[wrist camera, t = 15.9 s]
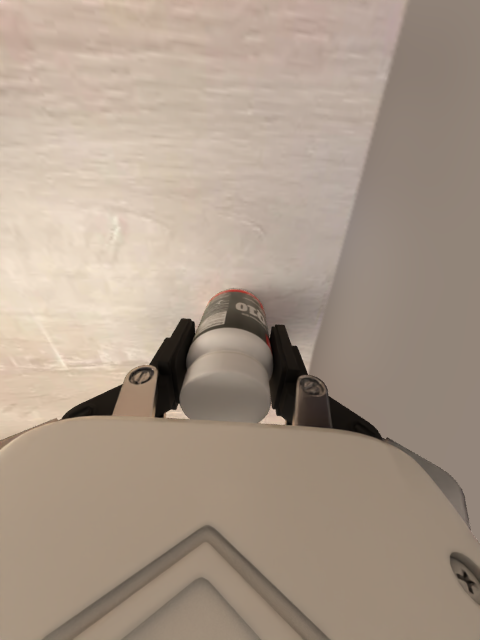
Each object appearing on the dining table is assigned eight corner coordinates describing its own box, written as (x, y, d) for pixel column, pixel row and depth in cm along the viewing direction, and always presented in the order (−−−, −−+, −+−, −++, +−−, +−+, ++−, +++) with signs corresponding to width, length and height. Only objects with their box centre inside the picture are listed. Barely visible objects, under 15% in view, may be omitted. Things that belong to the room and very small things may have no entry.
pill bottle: (275, 320, 16) (302, 414, 8) (230, 347, 17) (219, 447, 10) (240, 274, 14) (237, 344, 7) (193, 308, 15) (147, 397, 8)
